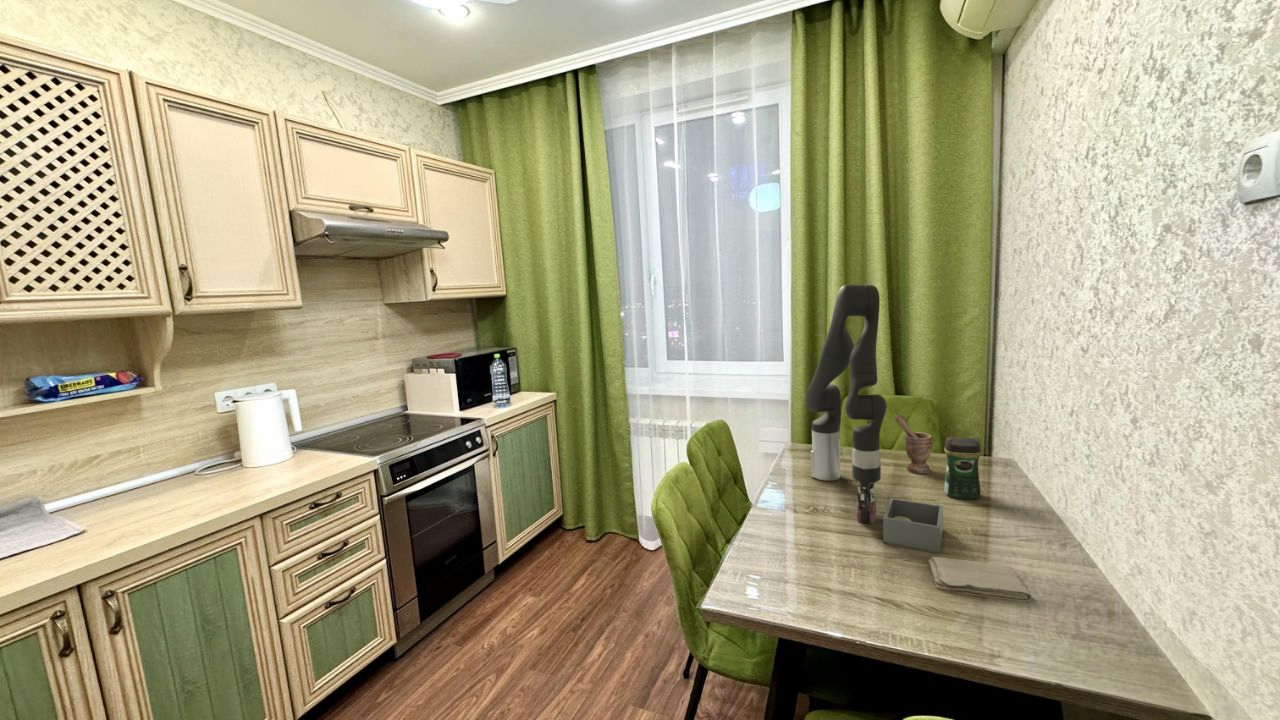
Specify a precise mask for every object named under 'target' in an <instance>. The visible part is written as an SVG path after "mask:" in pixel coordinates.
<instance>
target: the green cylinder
mask: <svg viewBox="0 0 1280 720" xmlns="http://www.w3.org/2000/svg"><path fill="white" fill-rule="evenodd" d="M893 519H899V520H905V521H911V520H910V519H909V518H906V517H902V516H897V517H894V518H893Z"/></svg>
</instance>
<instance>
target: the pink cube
mask: <svg viewBox="0 0 1280 720" xmlns="http://www.w3.org/2000/svg"><path fill="white" fill-rule="evenodd" d="M863 506H865V505H863ZM865 507H866V506H865ZM856 508H857V509H856V510H857V511H856V512H857V515H856V519H857V520H856V521H857V522H858V523H862V522H861V511H859V509H858V508H859V505H858V504H857V505H856ZM876 519H877V501H874V500H873V501H872V503H870V522H869V523H867V524H870V525H874V524H875V522H876Z"/></svg>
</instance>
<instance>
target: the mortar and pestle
mask: <svg viewBox="0 0 1280 720" xmlns="http://www.w3.org/2000/svg"><path fill="white" fill-rule="evenodd" d="M894 420H895V422H896V423H897V424H898V425H899V426H900V428H902V429H903V431H904V448H905V452H906V455H907V457H908V458H909V459H910V460H911V461H910V463H908V465H907V466H906V470H907V471H908V472H909V473H913V474H921V475H923V474H930V473H931V469H930V466H929V465H928V463H926V461H928V459H930V456H931V455H932V450H933V448H932V447H933V443H932V442H933V441H932V440H933V436H932V435H931V434H930V433H927V432H920V431H913V430H912V428H911V427H910V426H909V424H908V422H907V420H906V419H905V417H904V416H903V415H902V414H897V415H895V416H894Z"/></svg>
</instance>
